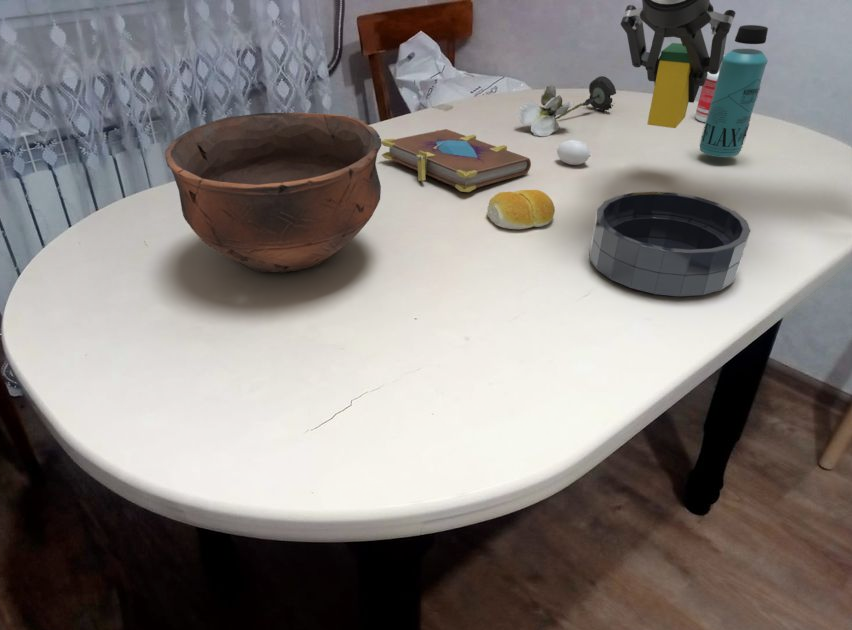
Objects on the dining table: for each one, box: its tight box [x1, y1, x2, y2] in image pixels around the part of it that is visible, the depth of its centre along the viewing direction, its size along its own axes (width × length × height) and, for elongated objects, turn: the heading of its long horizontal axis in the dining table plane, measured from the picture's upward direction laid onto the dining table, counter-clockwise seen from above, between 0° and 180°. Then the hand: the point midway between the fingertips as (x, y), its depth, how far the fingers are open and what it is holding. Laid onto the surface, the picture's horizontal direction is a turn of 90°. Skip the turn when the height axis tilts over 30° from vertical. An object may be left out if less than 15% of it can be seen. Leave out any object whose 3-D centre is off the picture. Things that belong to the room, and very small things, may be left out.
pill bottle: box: [694, 54, 726, 124], centre depth 122 cm, size 6×6×11 cm
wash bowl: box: [589, 191, 751, 297], centre depth 78 cm, size 17×17×6 cm
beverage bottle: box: [699, 24, 769, 158], centre depth 102 cm, size 6×7×20 cm
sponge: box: [646, 42, 692, 129], centre depth 94 cm, size 4×6×10 cm, turn 147°
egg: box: [556, 139, 591, 166], centre depth 107 cm, size 4×6×4 cm, turn 52°
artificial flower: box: [517, 75, 617, 138], centre depth 124 cm, size 9×22×10 cm, turn 124°
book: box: [381, 128, 532, 193], centre depth 108 cm, size 16×25×5 cm, turn 37°
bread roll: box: [486, 189, 556, 230], centre depth 90 cm, size 8×9×4 cm
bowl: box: [164, 112, 382, 274], centre depth 80 cm, size 25×25×15 cm
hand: (677, 92), depth 98 cm, fingers closed on sponge, 4 cm apart
